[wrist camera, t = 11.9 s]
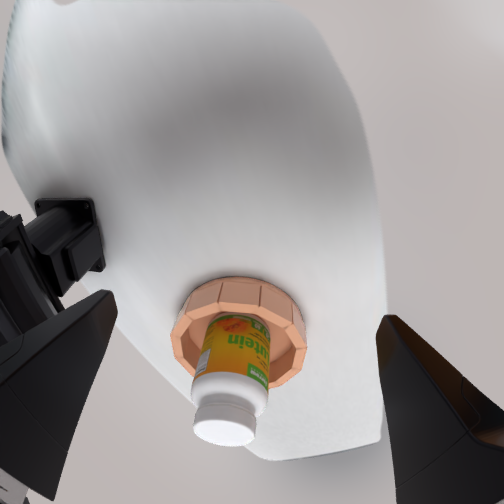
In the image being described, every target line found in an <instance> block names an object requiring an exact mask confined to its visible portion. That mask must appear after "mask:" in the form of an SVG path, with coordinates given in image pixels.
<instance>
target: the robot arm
mask: <svg viewBox="0 0 504 504" xmlns="http://www.w3.org/2000/svg"><path fill="white" fill-rule="evenodd" d="M86 203H87V204H88V206H89V207H87V205H86ZM39 204H40V205H39ZM35 210H36V214H37V218H35V219H34V220H33V221H31V222H30V223H28V224H27V225H26V226H24V225H23V223H22V221H23V220H22V217H21V215H20V214H18V215H16V216H13V217H12V216H10V215H8V214H7V213H5V212H4V211H0V504H30V503H29V501H28V498H27V497H26V494H27V491H28V488H30V489H31V490H33V491H35V492H37V493H38V494H40V495H42V496H44V497H45V498H47V499H49V500H51V501H54V499H55V495H56V491H57V488H58V484H59V481H60V477H61V474H62V470H63V467H64V463H65V460H66V457H67V454H68V450H69V447H70V444H71V441H72V438H73V435H74V432H75V429H76V426H77V424H78V421H79V418H80V415H81V413H82V410H83V407H84V404H85V402H86V399H87V397H88V394H89V391H90V389H91V386H92V384H93V381H94V379H95V376H96V374H97V371H98V369H99V367H100V364H101V362H102V359H103V357H104V354H105V352H106V349H107V346H108V343H109V339H110V337H111V333H112V330H113V327H114V324H115V321H116V318H117V314H118V310H117V306H116V302H115V298H114V295H113V292H112V291H110V290H103V289H101V290H99V291H97V292H95V293H94V294H92V295H90V296H88V297H86V298H85V299H83V300H81V301H79V302H77V303H76V304H74V305H72V306H70V307H69V308H67V309H65V308H64V307H63V305H62V303H61V301H60V300H59V298H58V297H63V296H64V294H65V293H66V292H67V291H68V290H69V288H70V287H71V286H72V285H73V284H74V283H75V282H78V281H79V280H80V279H81V278H82V277H83V276H84V274H85V273H86V272H87V271H94V272H102V271H103V270H104V269H105V263H104V258H103V251H102V246H101V241H100V236H99V230H98V226H97V222H96V216H95V210H94V204H93V201H92V200H91V199H89V198H48V199H38V200H36V201H35ZM98 265H99V266H100V267H99V266H98ZM376 346H377V356H378V367H379V377H380V384H381V389H382V394H383V400H384V405H385V411H386V417H387V423H388V430H389V436H390V444H391V450H392V459H393V467H394V476H395V487H396V502H397V504H504V411H503V410H502V409H501V408H500V407H499V406H497V405H496V404H495V403H493V402H492V401H491V400H490V399H489V398H488V397H486V396H485V395H484V394H483V393H482V392H481V391H479V390H478V389H477V388H476V387H475V386H474V385H473V384H472V383H471V382H470V381H468V380H467V379H466V378H465V377H464V376H463V375H462V374H461V373H460V372H459V371H458V370H457V369H456V368H455V367H454V366H452V365H451V364H450V363H449V362H448V361H447V360H446V359H445V358H444V357H443V356H442V355H440V354H439V353H438V352H437V351H436V350H435V349H434V348H433V347H432V346H431V345H429V344H428V343H427V342H426V341H425V340H424V339H423V338H422V337H421V336H420V335H418V334H417V333H416V332H415V331H414V330H413V329H411V328H410V327H409V326H408V325H407V324H406V323H405V322H404V321H402V320H401V319H400V318H399V317H398V316H397V315H384V316H383V318H382V320H381V323H380V325H379V328H378V330H377V333H376Z"/></svg>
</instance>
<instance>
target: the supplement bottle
mask: <svg viewBox="0 0 504 504" xmlns="http://www.w3.org/2000/svg"><path fill="white" fill-rule="evenodd" d="M270 343H271V338H270V331H269V329H268V327H267V325H266V324H265V323H264V322H263V321H262V320H261V319H260V318H258V317H257V316H255V315H252V314H250V313H240V312H225V313H222V314H220V315H218V316H216V317H215V318H214V319H213V320H212V321H211V322H210V323H209V325H208V328H207V331H206V334H205V338H204V341H203V345H202V349H201V353H200V357H199V360H198V364H197V368H196V372H195V376H194V379H193V383H192V388H191V399H192V402H193V404H194V405H195V407H196V408H197V409H198V410H197V412H196V414H195V420H194V425H193V430H194V432H195V434H196V435H197V436H198V437H200V438H201V439H203V440H205V441H207V442H210V443H214V444H217V445H222V446H241V445H246V444H248V443H250V442H252V441H253V440H254V438H255V432H256V417H258V416H259V415H261V414H262V413H263V411H264V410H265V408H266V406H267V402H268V389H269V366H270Z"/></svg>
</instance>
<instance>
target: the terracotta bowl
mask: <svg viewBox="0 0 504 504" xmlns="http://www.w3.org/2000/svg"><path fill="white" fill-rule="evenodd" d="M225 312H240V313H250V314H252V315H255V316H257V317H258V318H260V319H261V320H262V321H263V322H264V323H265V324H266V325H267V327H268V329H269V331H270V338H271V343H270V366H269V389H270V388H274V387H279V386H280V385H283V384H284V383H285V382H287V381H288V380H289V379H291V378H292V377H293V376H294V375H296V374H297V373H298V372H300V371H301V369H302V366H303V362H304V358H305V354H306V350H307V341H306V329H305V325H304V323H303V320H302V315H301V313H300V310H299V308H298V307H297V305H296V303H295V302H294V301H293V300H292V299H291V298H290V297H289V296H288V295H287V294H286V293H285V292H283V291H282V290H280V289H279V288H277V287H275V286H273V285H271V284H269V283H267V282H264V281H261V280H257V279H253V278H247V277H225V278H220V279H216V280H213V281H209V282H207V283H205V284H203V285H201V286H200V287H198V288H197V289H195V290H194V291H193V292H192V293H191V294H190V295H189V297H188V298H187V300H186V301H185V303H184V306H183V308H182V309H181V311H180V312H179V314H178V316H177V319H176V321H175V324H174V326H173V329H172V331H171V335H170V337H171V342H172V347H173V352H174V357H175V359H176V360H177V361H178V362H179V363H180V364H181V365H182V366H183V367H184V368H185V369H186V370H187V371H188V372H189V373H190V374H191V375H192V376H193V377H194V376H195V372H196V368H197V364H198V360H199V357H200V353H201V349H202V345H203V341H204V338H205V334H206V331H207V328H208V325H209V323H210V322H211V321H212V320H213V319H214V318H215V317H216V316H218V315H220V314H222V313H225Z"/></svg>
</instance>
